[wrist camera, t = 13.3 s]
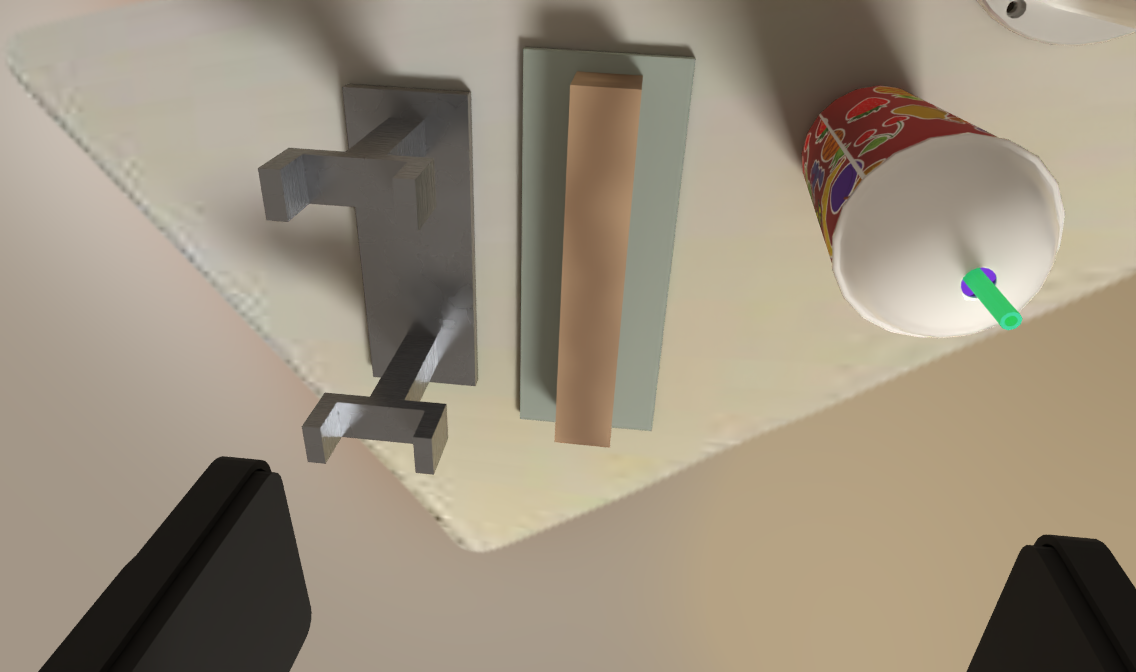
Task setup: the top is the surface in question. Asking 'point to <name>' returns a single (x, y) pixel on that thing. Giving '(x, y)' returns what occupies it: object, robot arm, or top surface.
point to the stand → (397, 257)
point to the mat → (647, 231)
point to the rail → (595, 250)
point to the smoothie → (929, 215)
